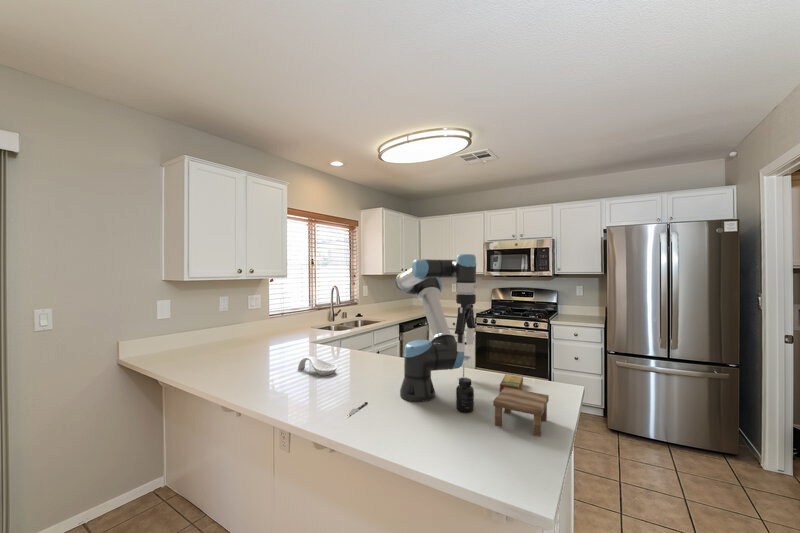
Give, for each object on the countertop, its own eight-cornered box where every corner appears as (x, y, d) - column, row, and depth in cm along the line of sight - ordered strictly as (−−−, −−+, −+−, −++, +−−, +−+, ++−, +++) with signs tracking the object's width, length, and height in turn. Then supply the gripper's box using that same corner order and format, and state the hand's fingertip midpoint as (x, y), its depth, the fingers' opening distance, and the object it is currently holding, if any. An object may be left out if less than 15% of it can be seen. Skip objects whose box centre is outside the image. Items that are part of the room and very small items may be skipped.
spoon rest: (341, 372, 183) (341, 359, 183) (326, 379, 172) (326, 364, 172) (308, 366, 194) (308, 353, 194) (292, 371, 184) (292, 358, 184)
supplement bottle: (454, 406, 139) (454, 376, 139) (470, 406, 139) (471, 376, 139) (458, 414, 132) (458, 382, 132) (476, 413, 132) (476, 382, 132)
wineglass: (471, 382, 168) (472, 345, 168) (454, 381, 169) (455, 344, 169) (471, 377, 176) (472, 342, 176) (455, 376, 177) (455, 341, 177)
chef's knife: (334, 422, 125) (341, 423, 124) (334, 419, 125) (341, 420, 124) (362, 403, 143) (368, 404, 141) (361, 400, 143) (368, 401, 141)
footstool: (541, 437, 114) (541, 410, 114) (493, 425, 122) (493, 400, 122) (548, 419, 128) (548, 395, 128) (504, 409, 136) (504, 387, 136)
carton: (523, 385, 166) (523, 376, 166) (518, 396, 152) (519, 386, 151) (505, 382, 170) (505, 373, 170) (499, 393, 155) (499, 383, 155)
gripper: (467, 296, 123) (466, 356, 123) (482, 291, 145) (482, 342, 145) (446, 295, 126) (446, 353, 126) (465, 291, 148) (464, 340, 148)
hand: (465, 347), depth 136 cm, fingers open, 13 cm apart
